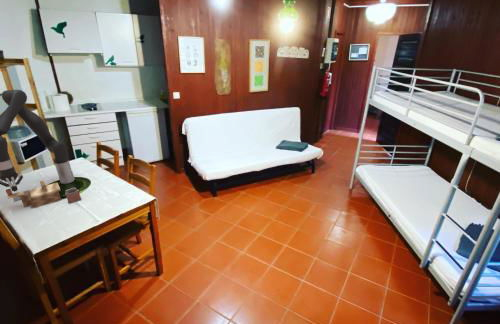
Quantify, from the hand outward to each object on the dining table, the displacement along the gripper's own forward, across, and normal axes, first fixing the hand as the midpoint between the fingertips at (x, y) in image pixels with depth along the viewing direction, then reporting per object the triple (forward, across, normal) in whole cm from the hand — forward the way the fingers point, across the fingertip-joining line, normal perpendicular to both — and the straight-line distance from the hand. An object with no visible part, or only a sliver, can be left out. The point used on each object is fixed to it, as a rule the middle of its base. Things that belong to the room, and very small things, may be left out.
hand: (15, 190), depth 167 cm
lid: (+6, -14, 0) cm, 15 cm away
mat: (+13, -5, -17) cm, 22 cm away
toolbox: (+13, -11, 0) cm, 17 cm away
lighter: (+13, -28, +13) cm, 34 cm away
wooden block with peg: (+4, +1, 0) cm, 4 cm away
